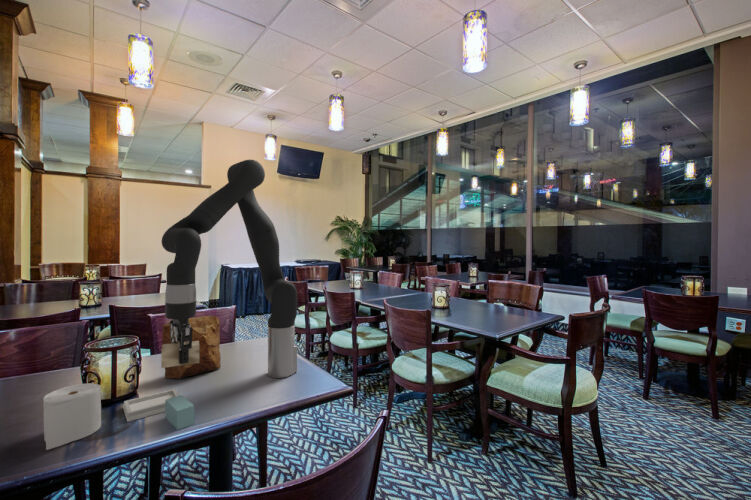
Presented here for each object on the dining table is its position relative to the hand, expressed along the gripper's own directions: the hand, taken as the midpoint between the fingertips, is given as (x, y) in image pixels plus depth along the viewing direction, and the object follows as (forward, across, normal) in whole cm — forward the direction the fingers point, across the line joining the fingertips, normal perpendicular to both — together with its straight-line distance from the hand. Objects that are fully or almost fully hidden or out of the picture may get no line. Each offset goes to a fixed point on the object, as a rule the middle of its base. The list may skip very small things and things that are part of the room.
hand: (180, 360), depth 97 cm
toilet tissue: (+15, +4, +22) cm, 27 cm away
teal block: (+14, -6, +2) cm, 16 cm away
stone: (+14, +26, -10) cm, 32 cm away
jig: (+14, +7, +5) cm, 16 cm away
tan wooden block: (+1, 0, 0) cm, 1 cm away
